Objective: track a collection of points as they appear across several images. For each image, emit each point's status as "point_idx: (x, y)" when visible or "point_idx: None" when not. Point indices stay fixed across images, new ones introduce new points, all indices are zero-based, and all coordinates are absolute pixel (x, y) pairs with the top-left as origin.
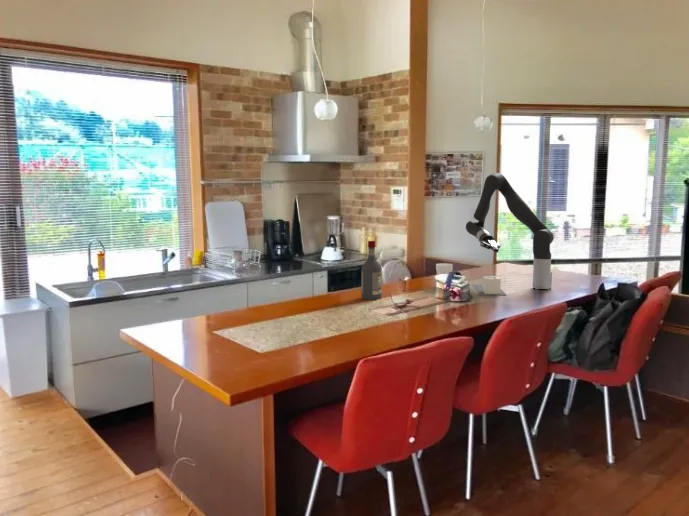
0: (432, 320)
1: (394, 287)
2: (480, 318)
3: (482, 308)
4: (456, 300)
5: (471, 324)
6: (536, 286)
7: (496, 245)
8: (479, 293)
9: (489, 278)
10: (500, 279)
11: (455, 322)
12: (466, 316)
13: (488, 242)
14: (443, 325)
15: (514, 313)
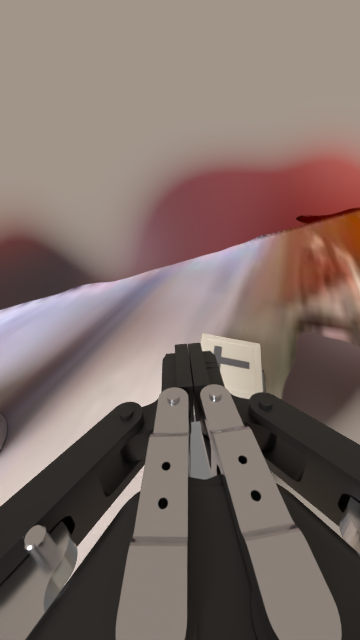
0: (351, 248)
1: None
2: (282, 244)
3: (272, 277)
4: (331, 333)
5: (295, 232)
6: (1, 421)
7: (158, 407)
8: (263, 384)
9: (241, 352)
10: (202, 335)
11: (317, 239)
12: (302, 252)
13: (285, 527)
14: (331, 235)
15: (224, 251)
